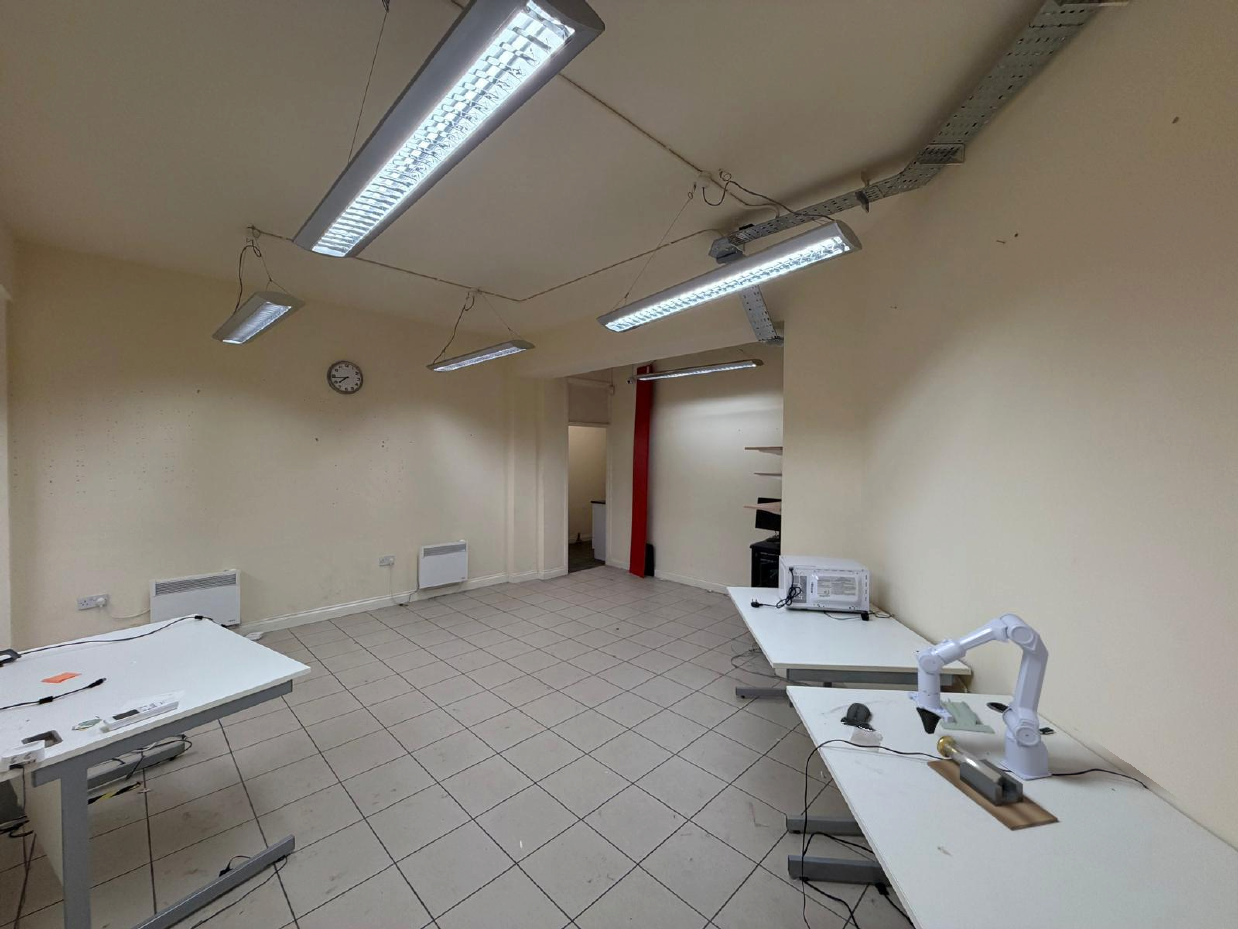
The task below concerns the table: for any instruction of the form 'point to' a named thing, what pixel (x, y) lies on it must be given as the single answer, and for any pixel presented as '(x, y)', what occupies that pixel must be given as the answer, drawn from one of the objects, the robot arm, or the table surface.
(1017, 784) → the bearing block
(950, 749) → the shaft
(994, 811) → the base board
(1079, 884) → the table surface
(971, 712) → the metal bracket
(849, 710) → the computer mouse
